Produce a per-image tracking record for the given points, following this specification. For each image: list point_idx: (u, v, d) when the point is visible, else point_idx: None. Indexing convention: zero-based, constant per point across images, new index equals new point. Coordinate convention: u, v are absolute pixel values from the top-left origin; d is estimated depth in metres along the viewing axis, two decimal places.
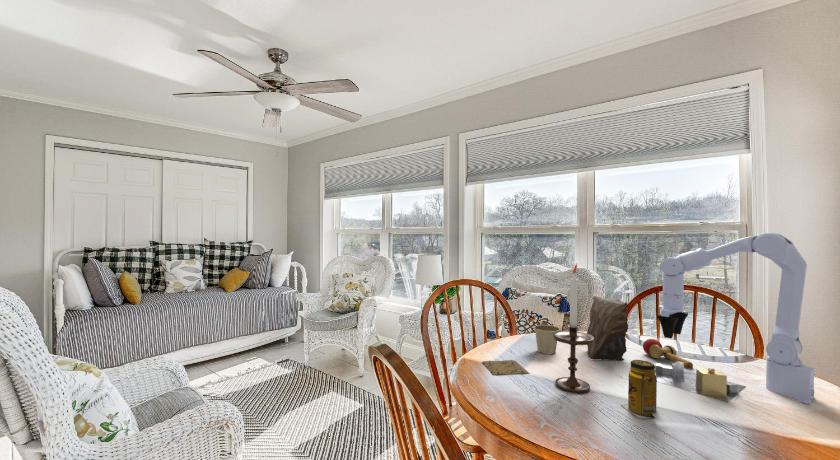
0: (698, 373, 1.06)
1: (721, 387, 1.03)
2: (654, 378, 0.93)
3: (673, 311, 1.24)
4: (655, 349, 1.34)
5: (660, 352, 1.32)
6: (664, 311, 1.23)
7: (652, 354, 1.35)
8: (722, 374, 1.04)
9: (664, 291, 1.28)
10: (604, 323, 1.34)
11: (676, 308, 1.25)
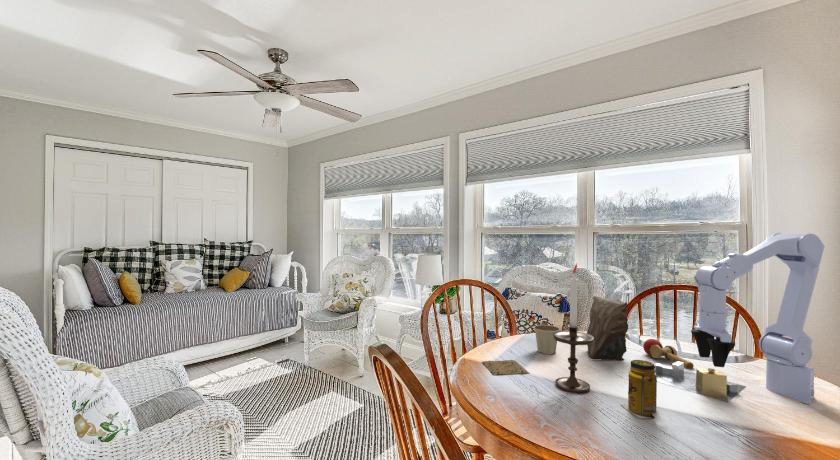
0: (698, 373, 1.06)
1: (721, 387, 1.03)
2: (654, 378, 0.93)
3: None
4: (655, 349, 1.34)
5: (660, 352, 1.32)
6: (726, 336, 0.98)
7: (652, 354, 1.34)
8: (722, 374, 1.04)
9: (712, 309, 1.03)
10: (604, 323, 1.34)
11: (724, 329, 1.02)
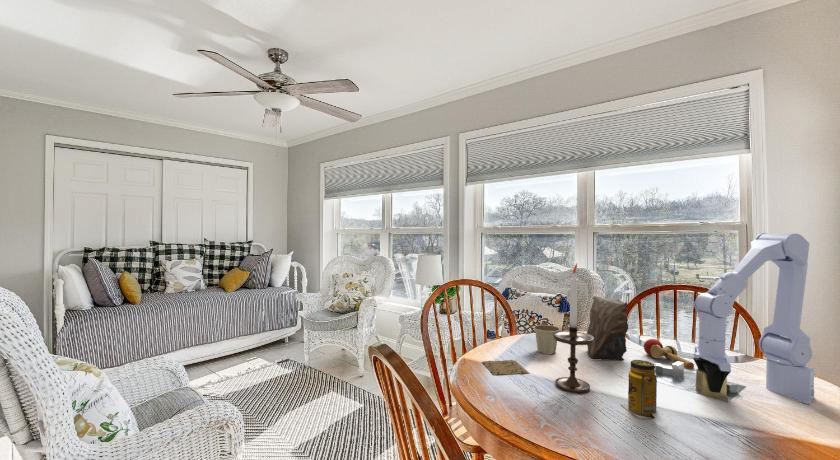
0: (698, 373, 1.06)
1: None
2: (654, 378, 0.93)
3: (727, 362, 1.00)
4: (656, 349, 1.34)
5: (661, 352, 1.31)
6: (726, 365, 0.98)
7: (653, 354, 1.34)
8: None
9: (712, 337, 1.03)
10: (605, 323, 1.34)
11: (723, 356, 1.03)
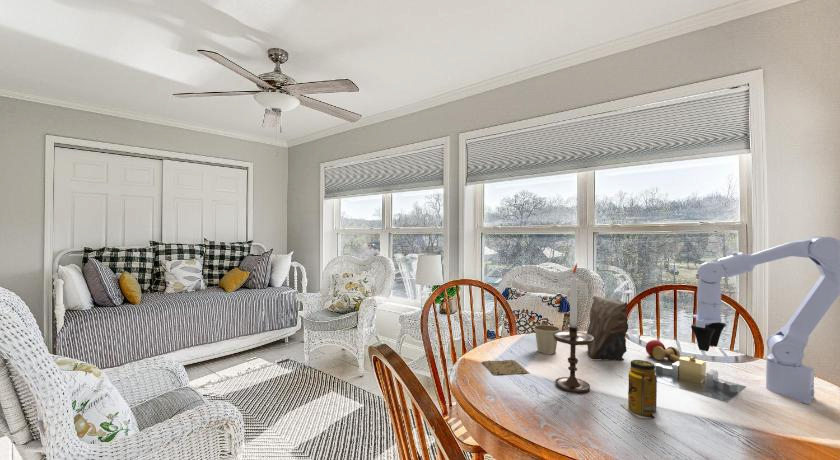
0: None
1: (696, 374, 1.12)
2: (654, 378, 0.93)
3: (709, 321, 1.13)
4: (658, 351, 1.32)
5: (664, 354, 1.30)
6: (699, 321, 1.12)
7: (655, 356, 1.33)
8: (699, 363, 1.12)
9: (701, 300, 1.16)
10: (604, 323, 1.34)
11: (713, 318, 1.14)
